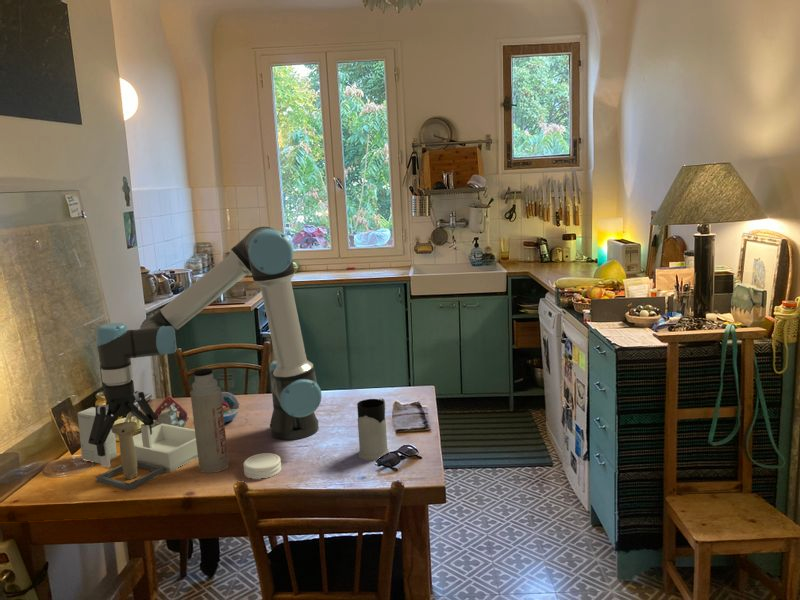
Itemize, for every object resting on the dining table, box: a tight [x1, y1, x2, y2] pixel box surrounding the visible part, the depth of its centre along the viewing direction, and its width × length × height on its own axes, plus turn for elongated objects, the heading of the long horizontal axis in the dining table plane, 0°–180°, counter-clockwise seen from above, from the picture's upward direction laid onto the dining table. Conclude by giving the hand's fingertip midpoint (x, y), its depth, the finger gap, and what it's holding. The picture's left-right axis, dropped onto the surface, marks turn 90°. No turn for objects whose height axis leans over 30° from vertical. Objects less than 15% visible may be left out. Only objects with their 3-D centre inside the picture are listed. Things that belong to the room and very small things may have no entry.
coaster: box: [243, 452, 282, 480], centre depth 185 cm, size 10×10×4 cm
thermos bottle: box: [190, 367, 230, 474], centre depth 187 cm, size 8×8×28 cm
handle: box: [112, 421, 138, 480], centre depth 185 cm, size 5×6×15 cm
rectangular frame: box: [95, 461, 166, 492], centre depth 186 cm, size 13×12×2 cm
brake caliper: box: [151, 395, 190, 428], centre depth 219 cm, size 11×11×12 cm
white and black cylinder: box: [356, 397, 390, 461], centre depth 194 cm, size 9×14×15 cm, turn 160°
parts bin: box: [118, 424, 198, 473], centre depth 199 cm, size 20×16×6 cm
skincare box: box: [77, 406, 118, 465], centre depth 198 cm, size 8×6×15 cm
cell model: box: [221, 391, 241, 424], centre depth 224 cm, size 10×12×10 cm
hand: (127, 456), depth 185 cm, fingers open, 13 cm apart
